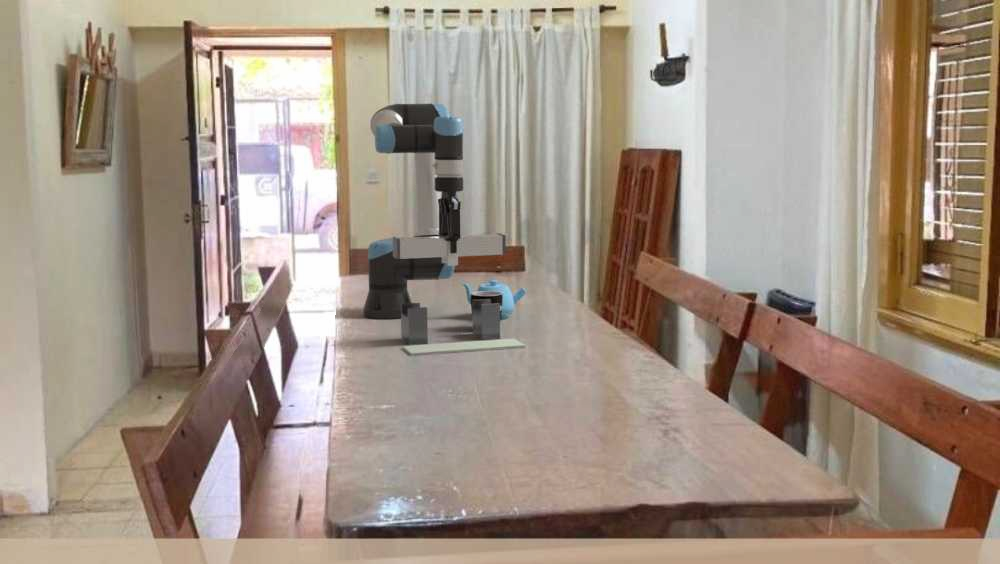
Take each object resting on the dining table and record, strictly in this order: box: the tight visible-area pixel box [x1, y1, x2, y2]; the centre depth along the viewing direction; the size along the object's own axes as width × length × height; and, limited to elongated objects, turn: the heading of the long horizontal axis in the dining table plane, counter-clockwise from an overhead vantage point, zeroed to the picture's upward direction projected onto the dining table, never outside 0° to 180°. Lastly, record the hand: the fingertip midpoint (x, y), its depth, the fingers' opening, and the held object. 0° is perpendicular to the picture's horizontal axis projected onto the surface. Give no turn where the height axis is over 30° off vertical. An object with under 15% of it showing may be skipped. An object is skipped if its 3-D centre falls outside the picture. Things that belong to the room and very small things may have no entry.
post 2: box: [471, 299, 501, 341], centre depth 272 cm, size 9×5×10 cm, turn 18°
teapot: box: [460, 279, 528, 320], centre depth 301 cm, size 15×14×11 cm
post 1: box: [400, 302, 429, 346], centre depth 266 cm, size 9×5×10 cm, turn 18°
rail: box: [392, 232, 507, 259], centre depth 266 cm, size 30×5×5 cm, turn 108°
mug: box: [470, 291, 503, 322], centre depth 285 cm, size 12×9×10 cm
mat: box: [402, 338, 526, 357], centre depth 258 cm, size 9×30×1 cm, turn 108°
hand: (449, 263), depth 267 cm, fingers closed on rail, 5 cm apart
